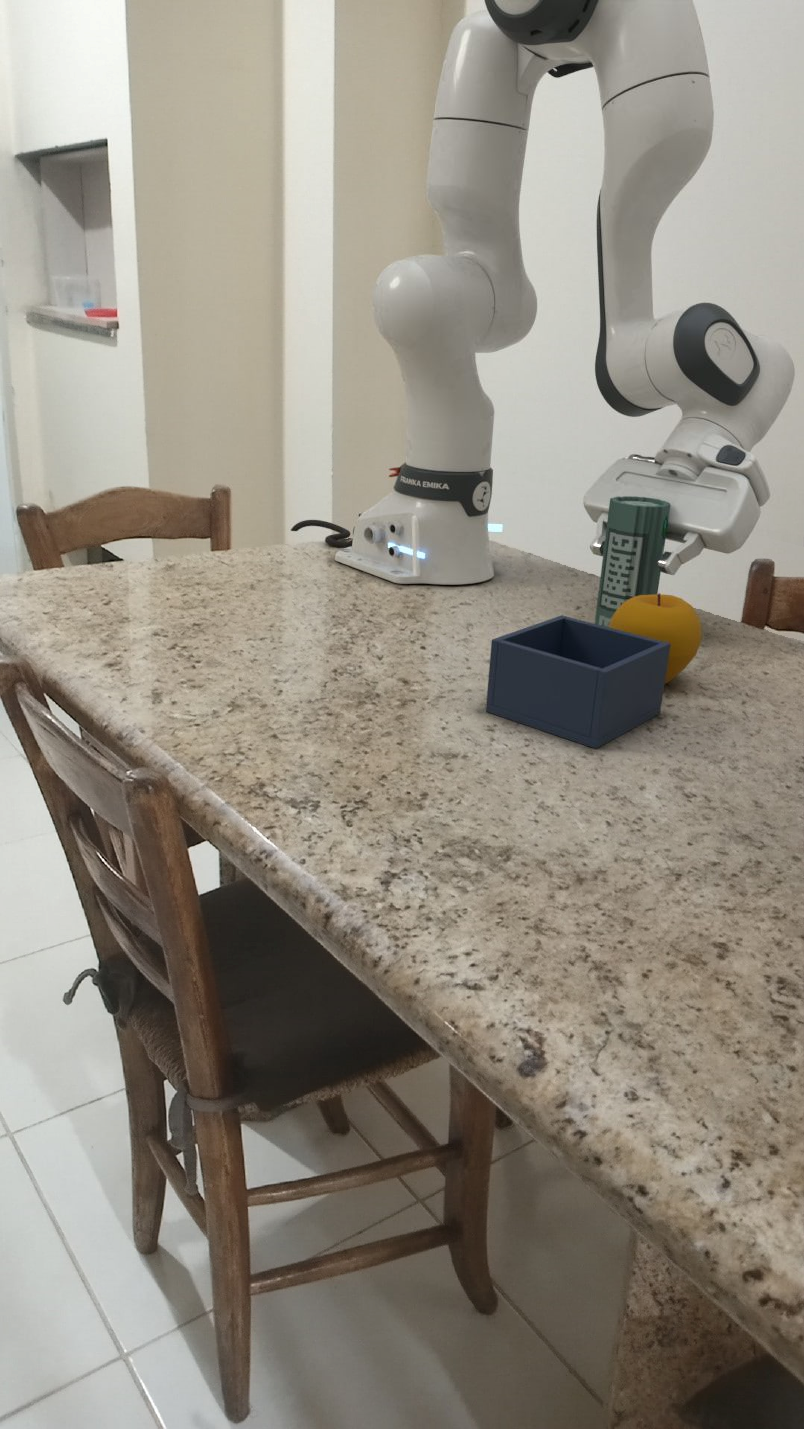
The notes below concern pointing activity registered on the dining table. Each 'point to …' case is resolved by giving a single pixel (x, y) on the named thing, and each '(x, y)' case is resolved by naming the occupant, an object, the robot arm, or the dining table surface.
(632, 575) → the can
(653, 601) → the apple
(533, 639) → the dark blue bin
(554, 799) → the dining table surface
